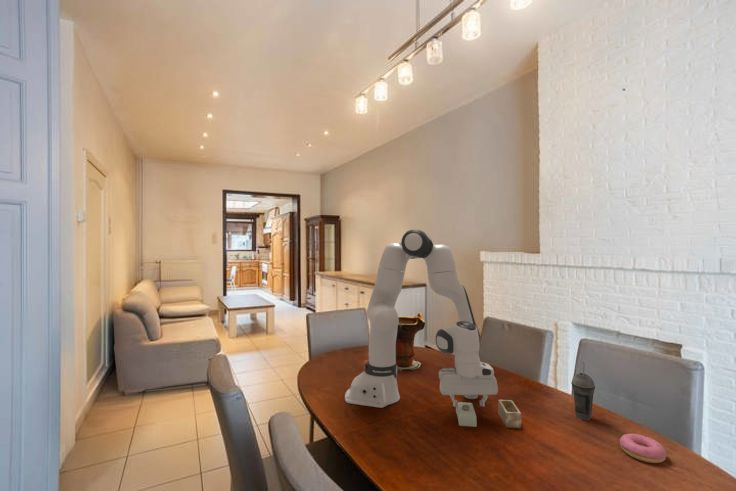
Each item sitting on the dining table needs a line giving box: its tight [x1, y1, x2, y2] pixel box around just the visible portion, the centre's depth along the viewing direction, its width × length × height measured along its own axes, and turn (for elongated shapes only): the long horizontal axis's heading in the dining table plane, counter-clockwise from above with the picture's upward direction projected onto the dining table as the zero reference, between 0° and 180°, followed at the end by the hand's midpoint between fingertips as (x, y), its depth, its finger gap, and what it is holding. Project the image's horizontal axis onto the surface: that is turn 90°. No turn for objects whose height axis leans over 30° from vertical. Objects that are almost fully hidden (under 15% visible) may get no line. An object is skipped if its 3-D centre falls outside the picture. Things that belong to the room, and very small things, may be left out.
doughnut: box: [619, 433, 668, 464], centre depth 101 cm, size 11×11×4 cm
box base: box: [497, 399, 522, 429], centre depth 121 cm, size 5×10×5 cm, turn 173°
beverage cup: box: [571, 362, 596, 421], centre depth 123 cm, size 7×7×20 cm
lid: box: [455, 401, 478, 428], centre depth 123 cm, size 6×11×5 cm, turn 171°
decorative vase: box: [396, 312, 426, 371], centre depth 179 cm, size 21×23×28 cm
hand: (468, 406), depth 124 cm, fingers open, 8 cm apart
